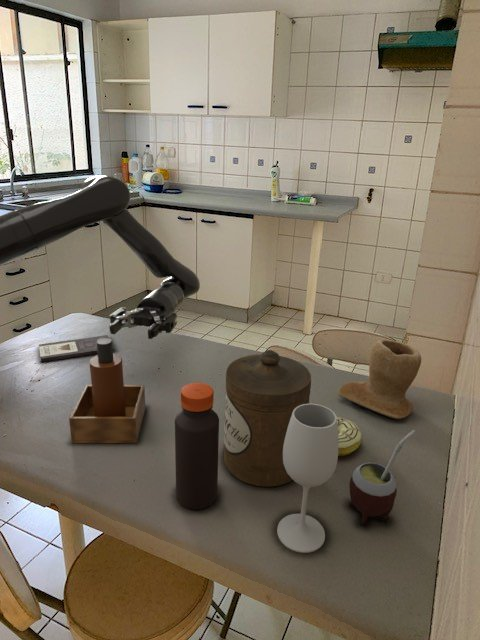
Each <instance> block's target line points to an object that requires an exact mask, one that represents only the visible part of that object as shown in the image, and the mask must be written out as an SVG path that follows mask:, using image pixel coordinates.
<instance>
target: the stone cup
mask: <svg viewBox="0 0 480 640" xmlns="http://www.w3.org/2000/svg"><path fill="white" fill-rule="evenodd" d="M368 360H369V362H368V364H369V365H368V373H369V374H368V380H367V381H362V380H353V381H348V382H346V383H344V384H343V385H342V386H341V387H340V388H338V390H337V395H338V396H339V397H341V398H344V399H346V400H348V401H349V402H352V403H354V404H357V405H359V406H361V407H363V408H365V409H367V410H371V411H373V412H375V413H378V414H380V415H383V416H386V417H388V418H390V419H391V418H392V419H395V420H401V419H402V420H403V419H404V418H406V417H409V415H410V414H411V413H412V412H413V409H414V408H413V403H412V402H411V401H410V400H408V399H407V397H406V393H407V391H408V389H410V386H411V385H412V383H413V382H414V380H415V379H416V377H417V375H418V372H419V370H420V368H421V365H422V356H421V353H420V352H419V350H417V349H416V348H415V347H413V346H411V345H409V344H406V343H404V342H400V341H398V340H397V341H396V340H392V339H379V340H377V341H376V342H375V343H374V345H373V346H372V348H371V351H370V355H369V359H368Z"/></svg>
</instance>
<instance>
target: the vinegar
mask: <svg viewBox="0 0 480 640" xmlns="http://www.w3.org/2000/svg"><path fill="white" fill-rule="evenodd" d="M214 393H215V391H214V388H213V387H212V386H211V385H209V384H207V383H204V382H190V383H187V384H185V385H184V386H183V387H181V389H180V407H181V409H180V411H179V412H178V413H177V414H176V416H175V419H174V448H175V449H174V451H175V452H174V455H175V458H174V461H175V496H176V500H177V502H178V503H179V504H180V505H181V506H182V507H184V508H186V509H189V510H202V509H203V510H204V509H206V508H208V507H210V506H212V505H213V503H215V501H216V499H217V497H218V484H219V483H218V481H219V480H218V479H219V446H220V445H219V444H220V443H219V442H220V439H219V438H220V437H219V436H220V418H219V416H218V413H217V412H216V411H214V409H213V407H214V400H215V399H214V398H215V397H214Z"/></svg>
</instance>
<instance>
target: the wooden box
mask: <svg viewBox="0 0 480 640" xmlns="http://www.w3.org/2000/svg"><path fill="white" fill-rule="evenodd" d="M145 387H146V386H145V385H144V384H141V385H140V384H124V397H125V412H126V417H95V415H94V405H93V394H92V384H85V386H84V387H83V389H82V391H81V392H80V393H81V394H80V396H79V398H78V399H77V401H76V403H75V405H74V407H73V409H72V412H70V413H71V414H70V415H69V418H68V421H69V423H68V424H69V431H70V437H71V439H70V440H71V444H138V440H139V435H140V431H141V427H142V424H143V419H144V415H145V411H146V395H145V394H146V392H145Z"/></svg>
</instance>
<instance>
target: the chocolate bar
mask: <svg viewBox="0 0 480 640" xmlns="http://www.w3.org/2000/svg"><path fill="white" fill-rule="evenodd" d="M102 338H109V335H108V334H105V335H97V336H91V337H84V338H76V339H70V340H69V339H68V340H61V341H54V342H47V343H41V344H38V349H39V356H40V362H41V363H46V362H52V361H58V360H64V359H65V360H66V359H72V358H78V357H84V356H91V355H98V353H97V340H99V339H102ZM109 339H110V338H109ZM112 347H113V352H115V349H114V346H113V345H112Z"/></svg>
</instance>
